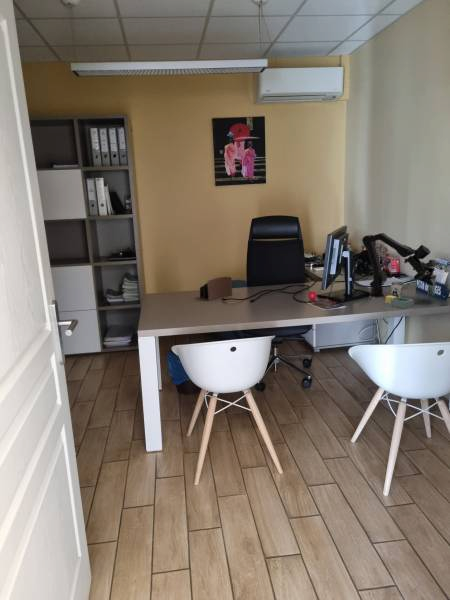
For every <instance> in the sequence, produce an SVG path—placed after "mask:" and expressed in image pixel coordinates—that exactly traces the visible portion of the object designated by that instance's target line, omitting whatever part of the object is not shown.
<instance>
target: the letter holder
mask: <svg viewBox="0 0 450 600" xmlns="http://www.w3.org/2000/svg"><path fill="white" fill-rule="evenodd" d="M232 278H233V277H231V276H222V277H216V278H213V279H210V280H208V281H207V282H206V283H205V284H203V285H202V286H200V287H199V299H200V300H203V301H207V302H210V301H211V300H212V301H215V300H219V299H220V298H221V299H225V298H224V297H226V298H229V297H228V296H230V297H233V279H232Z"/></svg>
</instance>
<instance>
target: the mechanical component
mask: <svg viewBox="0 0 450 600" xmlns="http://www.w3.org/2000/svg"><path fill="white" fill-rule="evenodd" d="M392 285H400V286H403V287H402V288H401V292H403V289H405V290H406V289H409V286H410V282H406V283H405V284H404V282H403V281H392V282H391V286H392ZM395 290H398V288H395Z"/></svg>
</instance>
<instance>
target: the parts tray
mask: <svg viewBox="0 0 450 600" xmlns="http://www.w3.org/2000/svg"><path fill="white" fill-rule="evenodd" d="M414 300H415V299H413V298H407V297H402V296H401V297H398V298H395V299H391V304H390V307H394V308H399V309H404V310H405V309H408V308H411V307H414Z"/></svg>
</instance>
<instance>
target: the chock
mask: <svg viewBox="0 0 450 600" xmlns="http://www.w3.org/2000/svg"><path fill="white" fill-rule="evenodd" d="M395 298H397V297H395V296H391V294H390V295H385V304H390V305H391V299H395Z"/></svg>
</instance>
